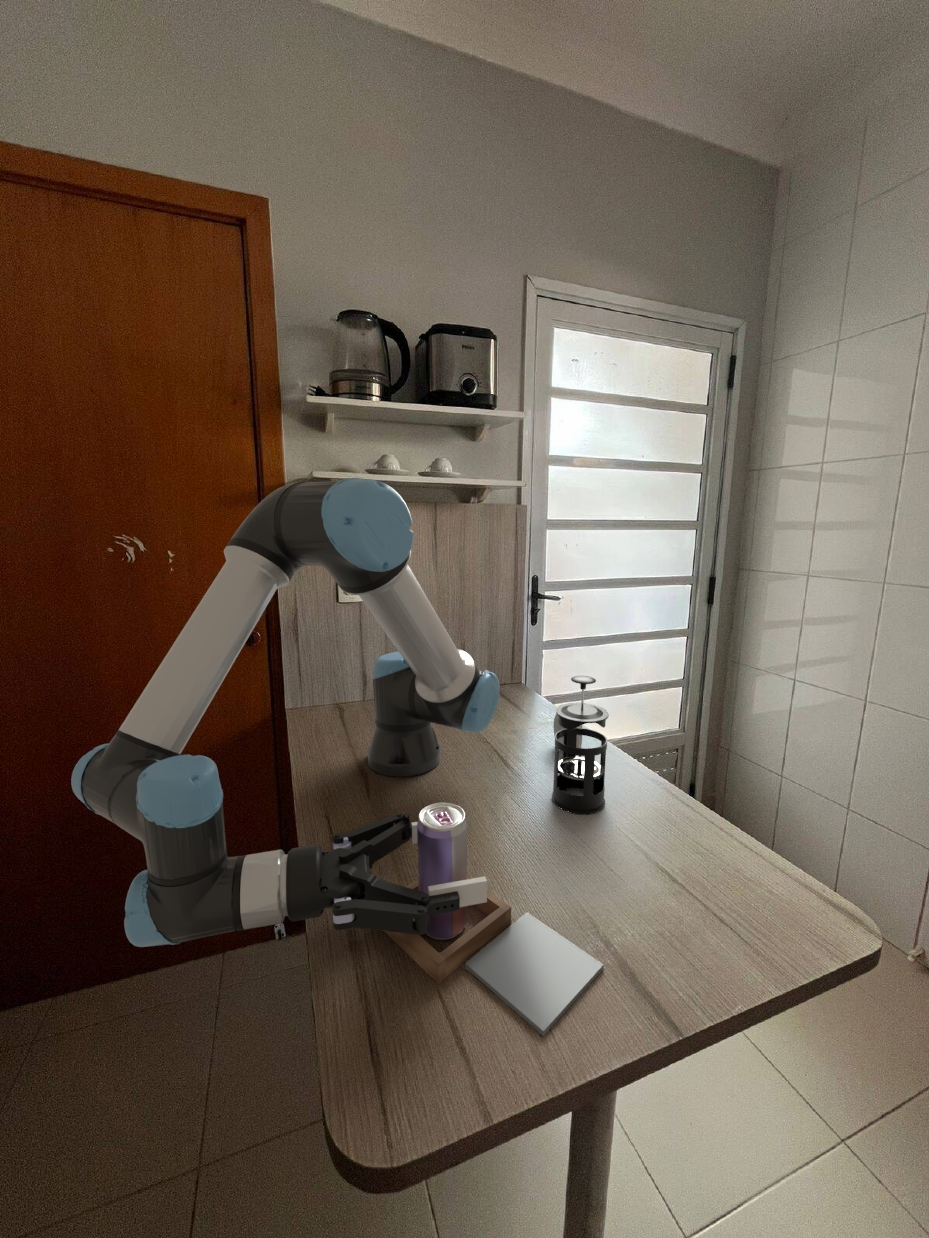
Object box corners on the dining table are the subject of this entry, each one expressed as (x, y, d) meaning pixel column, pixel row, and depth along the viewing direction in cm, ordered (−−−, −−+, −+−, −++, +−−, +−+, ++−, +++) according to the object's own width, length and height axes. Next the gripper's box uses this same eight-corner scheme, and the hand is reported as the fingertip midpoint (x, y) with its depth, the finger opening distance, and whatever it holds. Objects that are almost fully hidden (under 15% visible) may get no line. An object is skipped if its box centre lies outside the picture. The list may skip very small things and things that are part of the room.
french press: (615, 814, 88) (623, 686, 84) (562, 819, 87) (567, 688, 82) (589, 780, 100) (595, 666, 95) (542, 784, 98) (546, 668, 94)
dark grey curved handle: (550, 744, 116) (551, 702, 114) (564, 742, 116) (566, 700, 115) (569, 764, 106) (570, 718, 104) (584, 762, 107) (586, 717, 105)
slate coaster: (465, 967, 58) (465, 962, 58) (526, 915, 66) (526, 911, 66) (543, 1036, 50) (543, 1031, 50) (603, 969, 58) (603, 964, 58)
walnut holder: (375, 922, 65) (374, 905, 64) (446, 877, 73) (446, 861, 72) (438, 983, 56) (438, 964, 56) (511, 924, 64) (511, 906, 64)
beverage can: (428, 949, 61) (426, 834, 58) (412, 914, 66) (410, 807, 63) (474, 933, 63) (475, 822, 60) (455, 900, 68) (455, 797, 65)
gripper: (296, 849, 71) (450, 826, 76) (278, 1008, 48) (501, 959, 53) (292, 799, 69) (450, 779, 74) (273, 938, 46) (502, 895, 51)
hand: (472, 854), depth 64 cm, fingers open, 12 cm apart
